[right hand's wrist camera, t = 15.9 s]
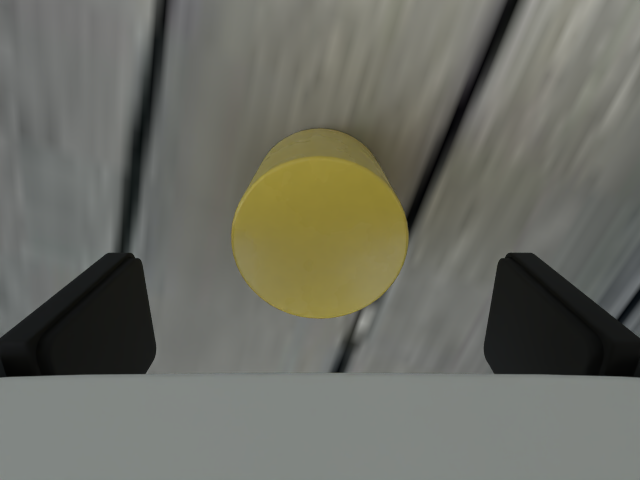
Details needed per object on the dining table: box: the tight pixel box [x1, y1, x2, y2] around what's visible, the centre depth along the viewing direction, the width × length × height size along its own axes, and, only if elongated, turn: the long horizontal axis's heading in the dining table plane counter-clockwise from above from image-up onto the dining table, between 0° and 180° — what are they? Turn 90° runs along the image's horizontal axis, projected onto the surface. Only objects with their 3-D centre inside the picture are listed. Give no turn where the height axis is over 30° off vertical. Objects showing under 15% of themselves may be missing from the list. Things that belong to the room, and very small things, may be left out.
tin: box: [231, 128, 409, 319], centre depth 13 cm, size 5×5×5 cm
